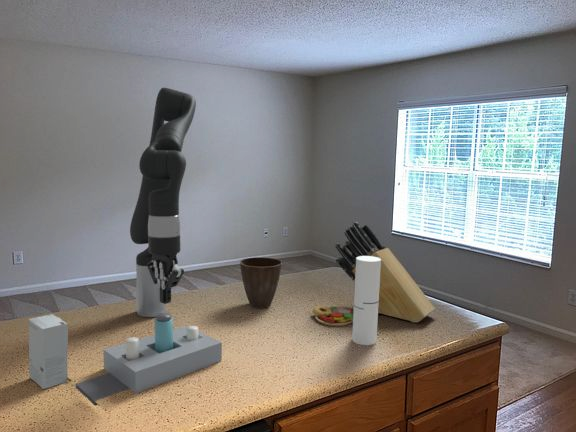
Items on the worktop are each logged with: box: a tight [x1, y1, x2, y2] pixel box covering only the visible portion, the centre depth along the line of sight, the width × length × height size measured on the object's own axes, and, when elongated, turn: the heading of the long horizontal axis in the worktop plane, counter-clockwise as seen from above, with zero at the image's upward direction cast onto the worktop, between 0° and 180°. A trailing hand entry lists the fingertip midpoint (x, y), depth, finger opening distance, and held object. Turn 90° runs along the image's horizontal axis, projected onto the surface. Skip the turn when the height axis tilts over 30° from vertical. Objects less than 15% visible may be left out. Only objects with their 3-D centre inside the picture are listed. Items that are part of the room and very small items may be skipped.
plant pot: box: [239, 256, 283, 309], centre depth 168 cm, size 15×15×16 cm
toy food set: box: [312, 305, 353, 327], centre depth 157 cm, size 13×13×3 cm
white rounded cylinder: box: [125, 336, 140, 361], centre depth 112 cm, size 3×3×7 cm
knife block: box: [334, 221, 436, 323], centre depth 165 cm, size 11×35×31 cm, turn 54°
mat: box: [75, 372, 130, 406], centre depth 108 cm, size 10×10×1 cm
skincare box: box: [28, 313, 69, 390], centre depth 111 cm, size 8×6×15 cm
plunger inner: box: [187, 325, 199, 341], centre depth 124 cm, size 3×3×7 cm
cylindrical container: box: [351, 256, 381, 346], centre depth 138 cm, size 7×7×25 cm
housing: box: [103, 324, 223, 394], centre depth 119 cm, size 16×24×6 cm, turn 136°
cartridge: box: [154, 312, 174, 354], centre depth 118 cm, size 4×4×13 cm
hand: (165, 302), depth 116 cm, fingers closed
